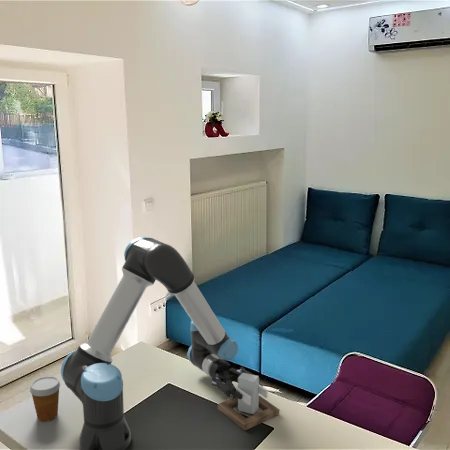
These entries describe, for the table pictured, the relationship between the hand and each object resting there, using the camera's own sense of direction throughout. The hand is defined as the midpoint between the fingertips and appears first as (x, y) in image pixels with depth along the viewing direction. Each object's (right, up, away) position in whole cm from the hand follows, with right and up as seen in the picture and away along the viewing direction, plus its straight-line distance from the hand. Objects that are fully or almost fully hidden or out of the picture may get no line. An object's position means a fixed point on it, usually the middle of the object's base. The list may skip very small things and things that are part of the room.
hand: (258, 397), depth 159 cm
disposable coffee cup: (-69, -7, +3) cm, 70 cm away
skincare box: (-3, -6, +6) cm, 9 cm away
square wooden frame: (-3, -7, +6) cm, 9 cm away
